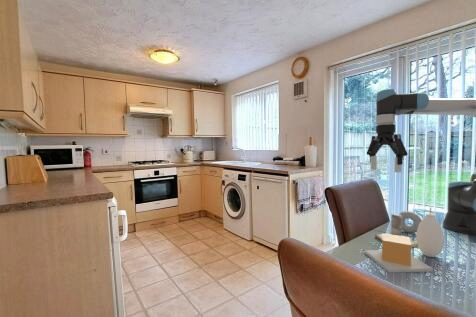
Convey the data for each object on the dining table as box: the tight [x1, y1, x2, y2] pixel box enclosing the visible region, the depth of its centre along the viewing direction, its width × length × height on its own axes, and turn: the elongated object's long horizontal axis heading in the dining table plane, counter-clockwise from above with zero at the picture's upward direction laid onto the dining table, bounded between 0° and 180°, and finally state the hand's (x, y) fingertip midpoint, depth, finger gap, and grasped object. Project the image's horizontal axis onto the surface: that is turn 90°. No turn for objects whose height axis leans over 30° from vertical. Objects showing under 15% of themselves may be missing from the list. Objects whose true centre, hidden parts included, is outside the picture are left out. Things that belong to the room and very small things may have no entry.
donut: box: [398, 210, 422, 234], centre depth 110 cm, size 10×3×10 cm, turn 47°
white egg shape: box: [415, 206, 445, 258], centre depth 86 cm, size 8×8×18 cm
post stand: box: [374, 213, 419, 248], centre depth 99 cm, size 11×11×11 cm
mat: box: [364, 249, 434, 273], centre depth 82 cm, size 14×14×1 cm
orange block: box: [381, 232, 412, 266], centre depth 82 cm, size 8×8×7 cm
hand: (384, 170), depth 109 cm, fingers open, 13 cm apart
